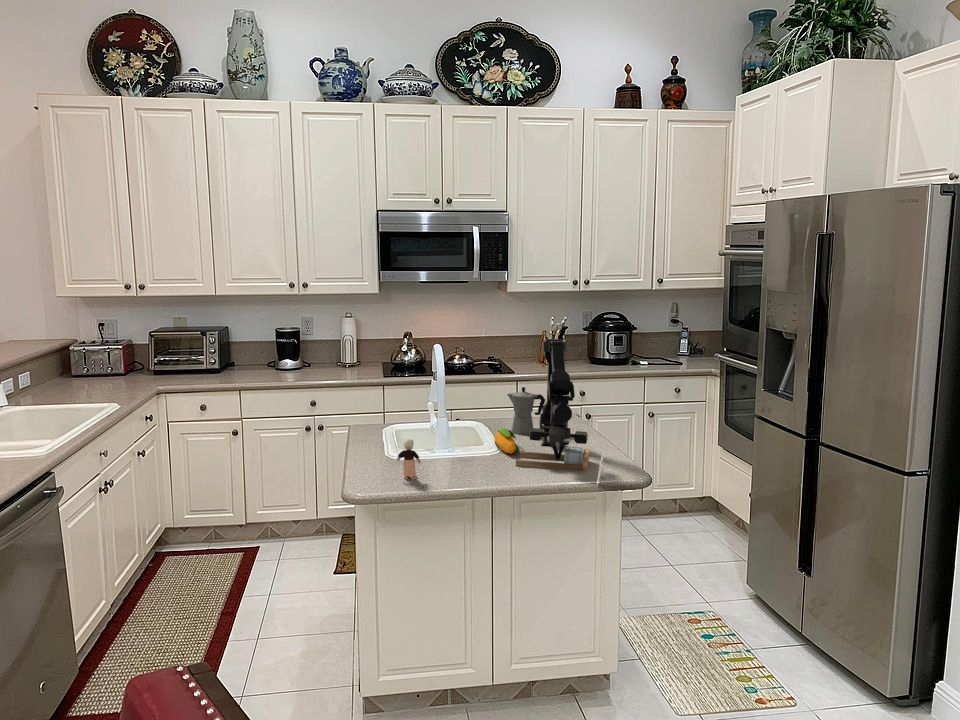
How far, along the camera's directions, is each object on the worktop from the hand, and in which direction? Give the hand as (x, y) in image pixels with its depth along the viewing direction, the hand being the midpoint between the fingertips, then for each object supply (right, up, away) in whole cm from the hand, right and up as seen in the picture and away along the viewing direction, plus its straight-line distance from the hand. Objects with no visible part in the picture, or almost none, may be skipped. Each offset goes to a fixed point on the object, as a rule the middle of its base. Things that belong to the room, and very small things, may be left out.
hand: (558, 460), depth 239 cm
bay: (-2, -2, +1) cm, 3 cm away
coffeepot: (-8, +5, +43) cm, 45 cm away
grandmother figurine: (-48, -4, -14) cm, 51 cm away
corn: (-16, +1, +16) cm, 23 cm away
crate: (+5, -1, -1) cm, 5 cm away
